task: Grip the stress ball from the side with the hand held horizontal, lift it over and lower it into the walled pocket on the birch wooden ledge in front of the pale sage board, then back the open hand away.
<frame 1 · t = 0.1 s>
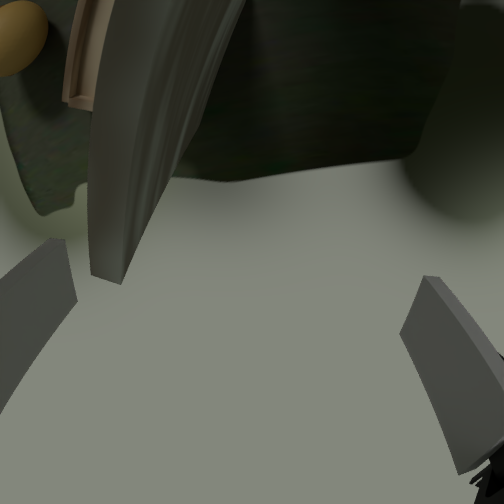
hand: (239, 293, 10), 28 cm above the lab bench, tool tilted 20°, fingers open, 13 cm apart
stress ball: (37, 29, 22), on the lab bench
ledge stand: (147, 39, 26), on the lab bench
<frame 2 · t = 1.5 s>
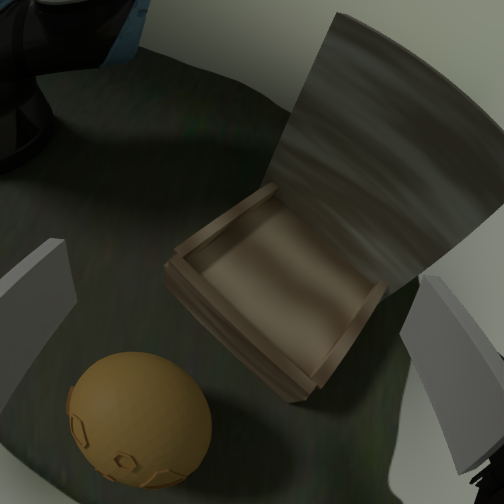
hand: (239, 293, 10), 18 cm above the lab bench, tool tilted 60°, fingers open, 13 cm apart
stress ball: (144, 419, 21), on the lab bench
ledge stand: (271, 298, 30), on the lab bench
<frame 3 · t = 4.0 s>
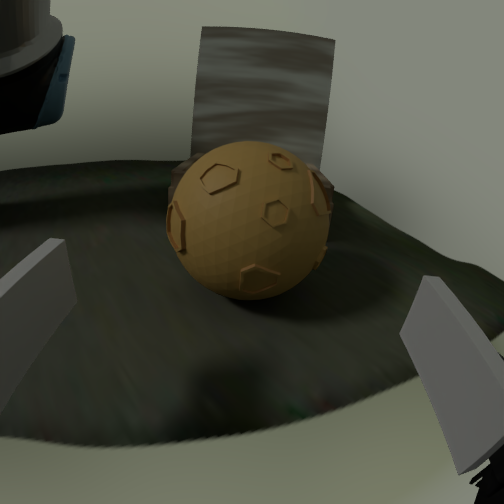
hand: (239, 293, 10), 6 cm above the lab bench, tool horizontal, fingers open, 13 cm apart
stress ball: (240, 291, 21), on the lab bench
ledge stand: (249, 210, 36), on the lab bench
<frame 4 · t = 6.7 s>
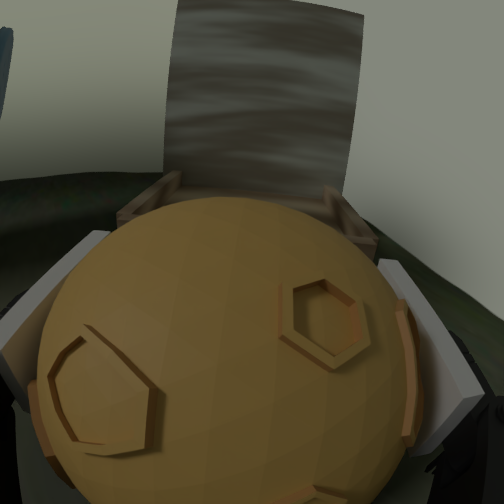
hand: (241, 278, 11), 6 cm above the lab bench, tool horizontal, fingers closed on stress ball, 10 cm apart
stress ball: (220, 461, 10), on the lab bench, touching gripper
ledge stand: (244, 260, 25), on the lab bench
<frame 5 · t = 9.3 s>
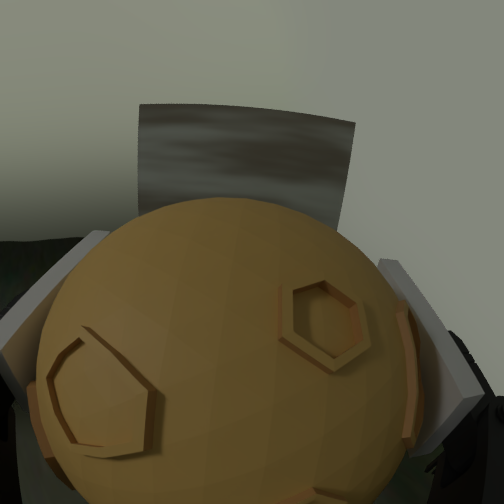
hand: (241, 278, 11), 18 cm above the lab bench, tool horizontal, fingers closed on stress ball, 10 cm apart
stress ball: (220, 462, 10), point 12 cm above the lab bench, touching gripper
ledge stand: (222, 390, 26), on the lab bench
when the fingers open (11 cm above the lab bench, at t = 12.0 s): stress ball drops 1 cm, resting on ledge stand.
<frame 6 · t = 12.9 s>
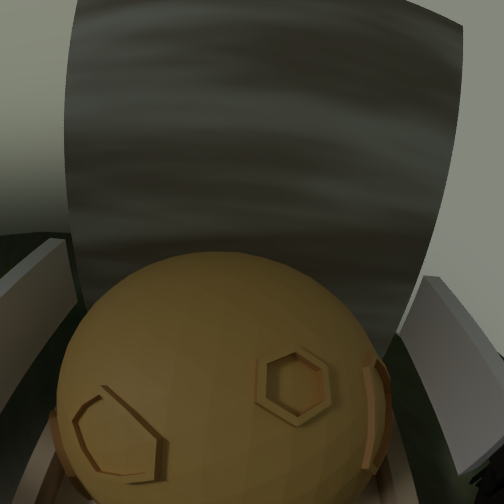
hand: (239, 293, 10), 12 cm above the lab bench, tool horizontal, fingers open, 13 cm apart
stress ball: (216, 471, 11), point 4 cm above the lab bench, touching ledge stand
ledge stand: (222, 493, 12), on the lab bench
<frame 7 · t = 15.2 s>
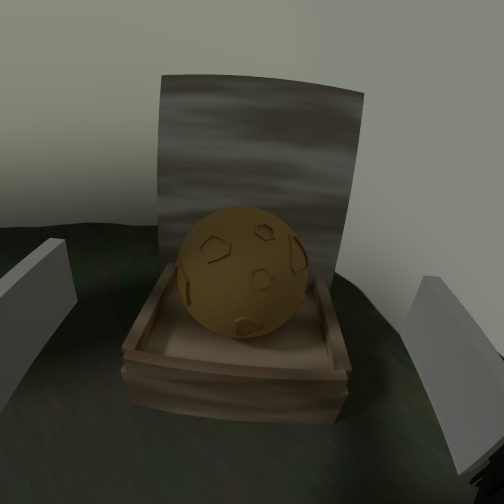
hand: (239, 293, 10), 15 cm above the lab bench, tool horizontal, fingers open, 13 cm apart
stress ball: (236, 327, 25), point 4 cm above the lab bench, touching ledge stand
ledge stand: (237, 358, 27), on the lab bench
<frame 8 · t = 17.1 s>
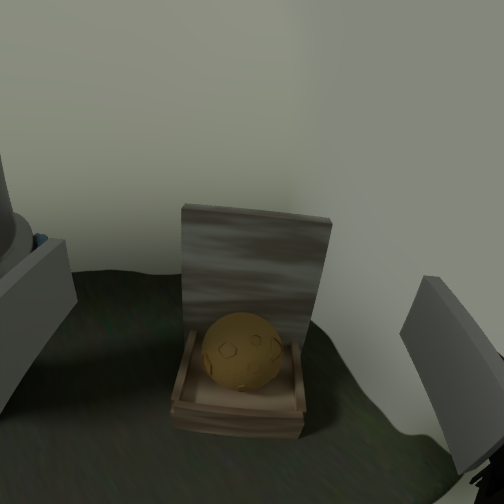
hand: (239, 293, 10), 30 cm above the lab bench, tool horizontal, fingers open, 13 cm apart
stress ball: (238, 379, 38), point 4 cm above the lab bench, touching ledge stand
ledge stand: (238, 395, 40), on the lab bench
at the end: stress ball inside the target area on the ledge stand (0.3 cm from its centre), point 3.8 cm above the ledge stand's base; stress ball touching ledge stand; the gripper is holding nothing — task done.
